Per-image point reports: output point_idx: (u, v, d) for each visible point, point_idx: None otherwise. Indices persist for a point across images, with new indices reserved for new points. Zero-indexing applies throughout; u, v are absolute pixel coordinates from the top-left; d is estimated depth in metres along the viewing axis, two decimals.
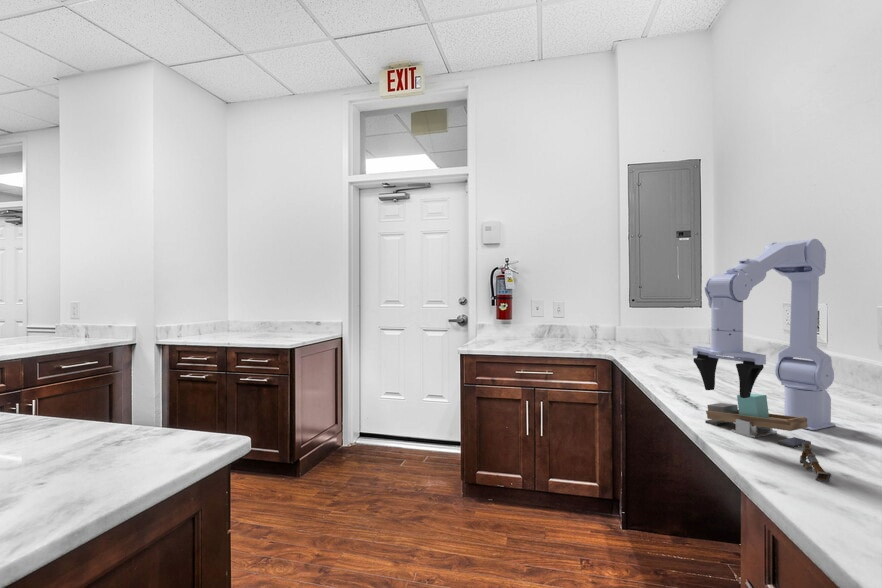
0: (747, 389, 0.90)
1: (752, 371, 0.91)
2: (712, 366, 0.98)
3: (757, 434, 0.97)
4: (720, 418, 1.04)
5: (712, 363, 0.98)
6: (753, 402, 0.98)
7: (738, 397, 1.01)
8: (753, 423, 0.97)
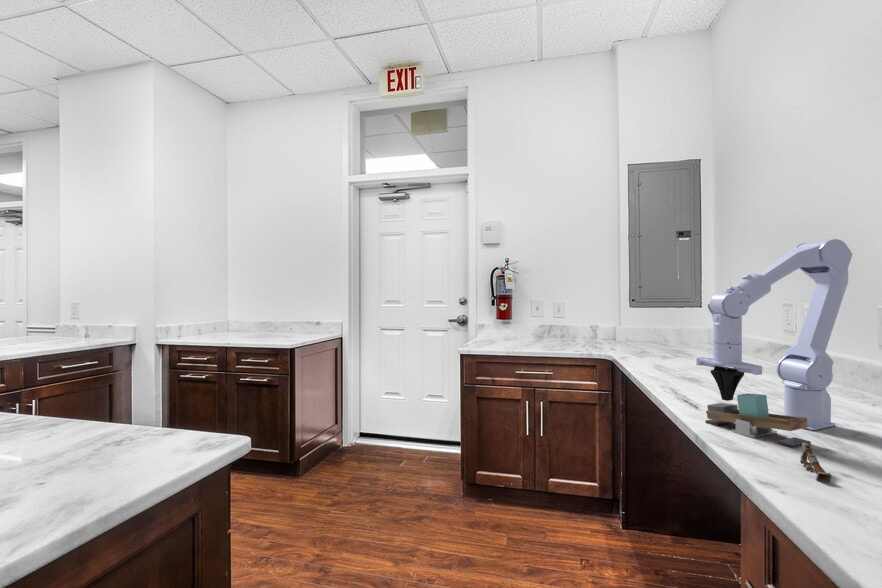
0: (730, 393, 1.05)
1: (734, 377, 1.05)
2: None
3: (757, 434, 0.97)
4: (720, 418, 1.04)
5: None
6: (753, 402, 0.98)
7: (738, 397, 1.01)
8: (753, 423, 0.97)
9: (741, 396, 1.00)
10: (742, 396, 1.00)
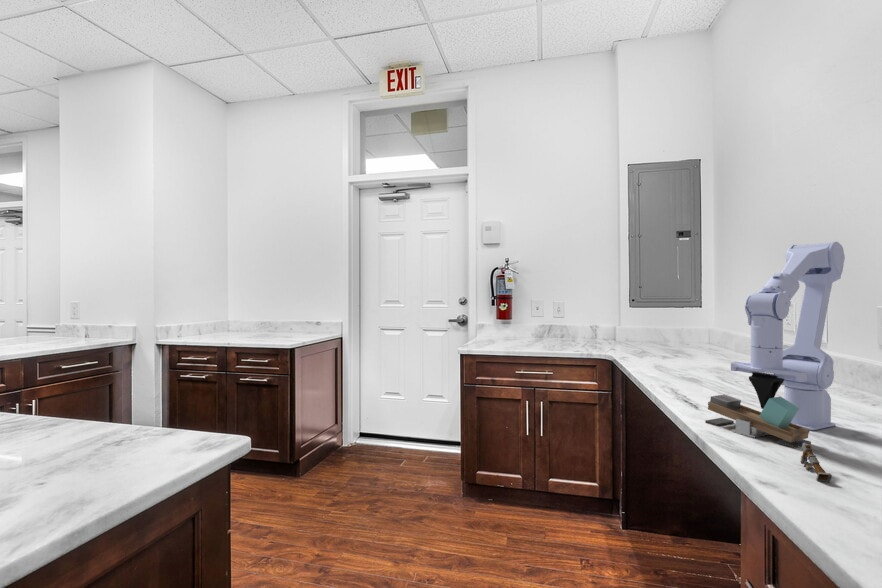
0: None
1: (773, 384, 0.97)
2: None
3: (757, 434, 0.97)
4: (721, 412, 1.04)
5: None
6: (781, 413, 0.93)
7: (769, 401, 0.95)
8: (754, 425, 0.97)
9: (773, 402, 0.94)
10: (773, 402, 0.94)
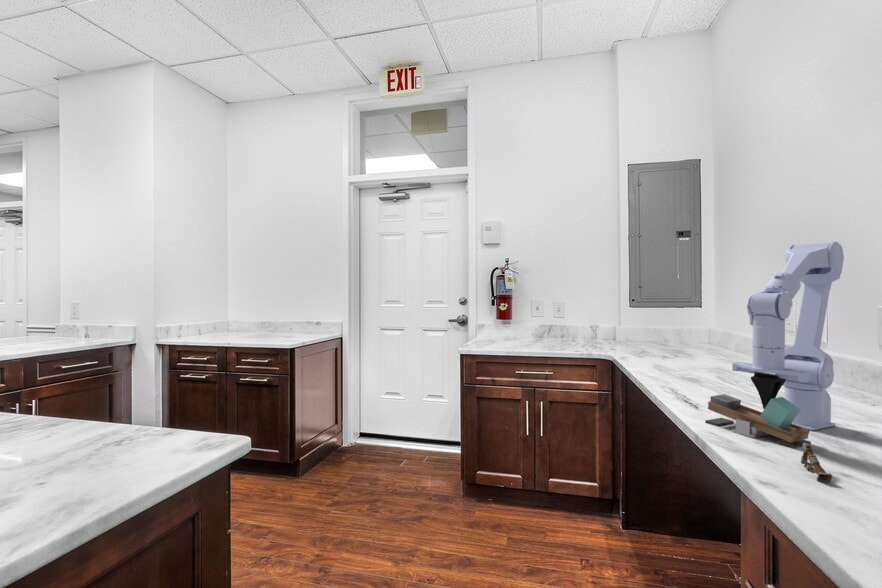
0: None
1: (775, 384, 0.97)
2: None
3: (757, 434, 0.97)
4: (721, 412, 1.04)
5: None
6: (783, 414, 0.93)
7: (771, 401, 0.95)
8: (754, 425, 0.97)
9: (775, 402, 0.94)
10: (775, 403, 0.94)
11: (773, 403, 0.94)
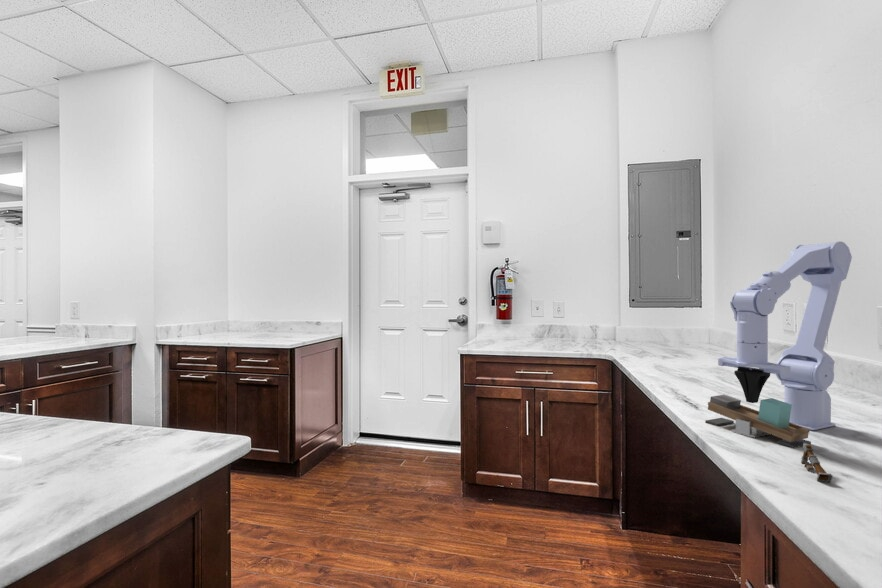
0: (755, 395, 0.99)
1: (760, 378, 1.00)
2: None
3: (757, 434, 0.97)
4: (721, 412, 1.04)
5: None
6: (776, 411, 0.94)
7: (761, 402, 0.97)
8: (754, 425, 0.97)
9: (765, 402, 0.96)
10: (765, 403, 0.96)
11: (764, 403, 0.96)
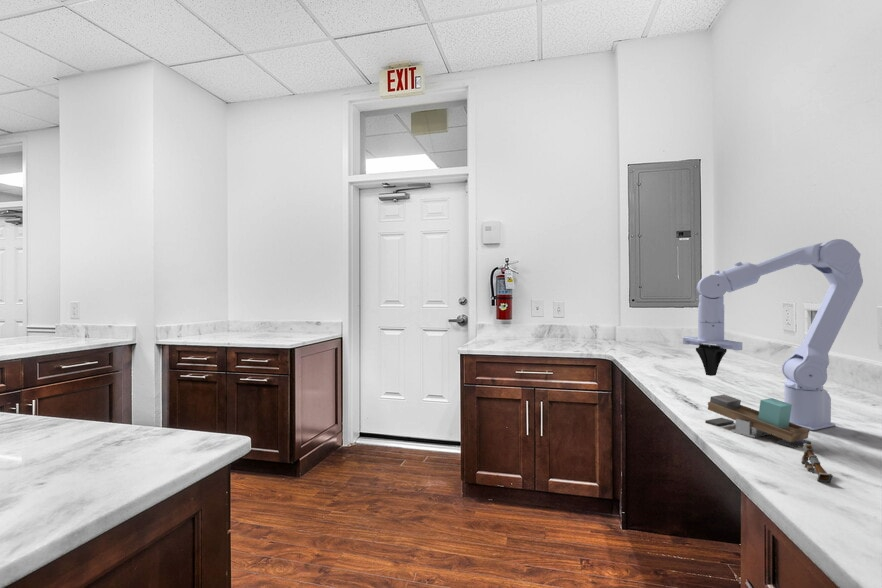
0: (714, 369, 1.12)
1: (718, 354, 1.13)
2: None
3: (757, 434, 0.97)
4: (721, 412, 1.04)
5: None
6: (776, 411, 0.94)
7: (761, 402, 0.97)
8: (754, 425, 0.97)
9: (765, 402, 0.96)
10: (765, 403, 0.96)
11: (764, 403, 0.96)
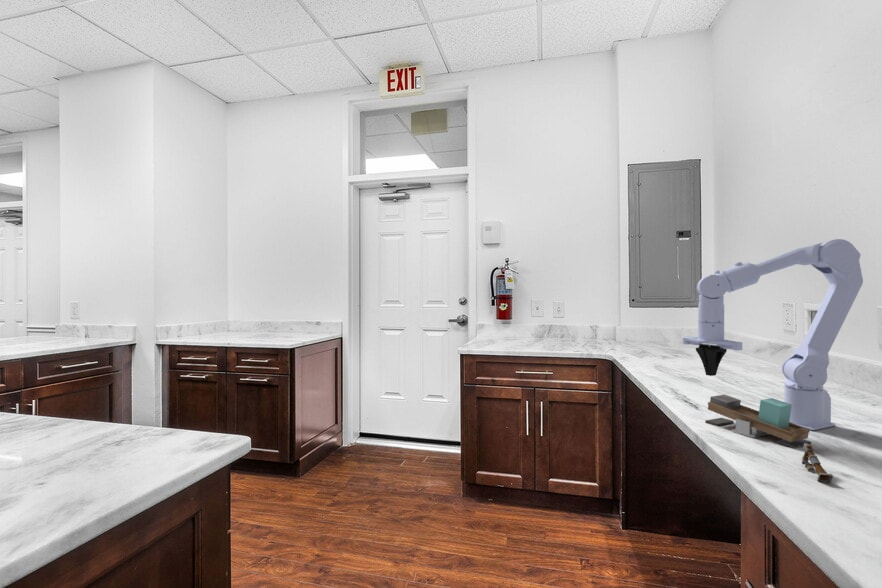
0: (714, 369, 1.12)
1: (718, 354, 1.13)
2: None
3: (757, 434, 0.97)
4: (721, 412, 1.04)
5: None
6: (776, 411, 0.94)
7: (761, 402, 0.97)
8: (754, 425, 0.97)
9: (765, 402, 0.96)
10: (765, 403, 0.96)
11: (764, 403, 0.96)
